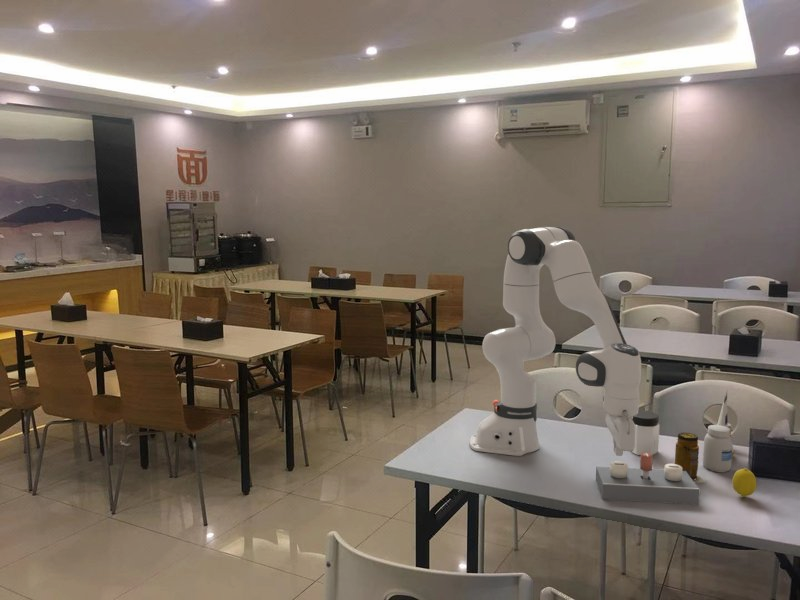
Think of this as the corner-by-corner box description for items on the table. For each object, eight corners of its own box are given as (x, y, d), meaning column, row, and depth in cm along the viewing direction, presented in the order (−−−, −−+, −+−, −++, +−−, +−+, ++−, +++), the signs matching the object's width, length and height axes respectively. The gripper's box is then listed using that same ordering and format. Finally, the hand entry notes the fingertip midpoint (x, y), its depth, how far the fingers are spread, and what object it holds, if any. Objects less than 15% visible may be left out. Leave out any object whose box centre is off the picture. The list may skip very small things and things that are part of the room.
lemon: (728, 492, 172) (730, 463, 171) (749, 492, 172) (751, 464, 171) (736, 501, 167) (738, 472, 166) (758, 502, 166) (761, 473, 165)
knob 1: (611, 491, 172) (612, 466, 171) (608, 484, 176) (609, 460, 175) (628, 492, 172) (629, 467, 170) (624, 485, 176) (626, 461, 175)
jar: (649, 458, 196) (650, 420, 194) (623, 451, 201) (625, 414, 200) (661, 450, 202) (663, 414, 200) (637, 444, 207) (638, 408, 206)
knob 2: (665, 494, 170) (667, 469, 169) (661, 487, 174) (662, 462, 173) (683, 495, 169) (684, 470, 168) (678, 488, 174) (679, 463, 173)
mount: (602, 499, 169) (603, 484, 168) (595, 479, 181) (596, 465, 180) (698, 504, 165) (699, 489, 165) (685, 484, 177) (685, 470, 177)
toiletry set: (729, 475, 183) (734, 406, 180) (700, 469, 187) (705, 402, 184) (736, 447, 204) (741, 384, 201) (710, 442, 208) (714, 381, 205)
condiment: (692, 470, 187) (694, 430, 185) (706, 482, 179) (708, 441, 177) (667, 470, 187) (669, 431, 185) (680, 482, 179) (682, 441, 177)
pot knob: (640, 485, 171) (642, 456, 170) (638, 480, 174) (639, 451, 173) (652, 485, 171) (653, 456, 170) (649, 480, 174) (651, 452, 173)
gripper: (643, 419, 160) (639, 470, 162) (625, 393, 180) (621, 440, 182) (617, 417, 161) (613, 469, 163) (601, 392, 181) (599, 439, 183)
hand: (617, 453), depth 173 cm, fingers closed
